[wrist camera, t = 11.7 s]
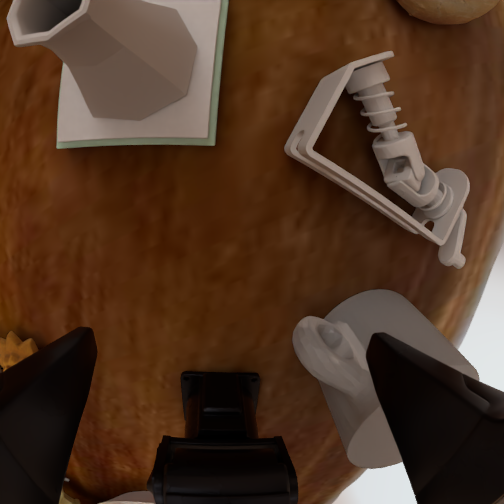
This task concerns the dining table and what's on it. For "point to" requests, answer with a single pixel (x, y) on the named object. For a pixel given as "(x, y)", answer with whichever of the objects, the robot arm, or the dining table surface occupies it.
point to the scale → (171, 116)
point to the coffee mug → (366, 366)
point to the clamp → (387, 158)
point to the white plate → (133, 498)
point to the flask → (112, 50)
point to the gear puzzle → (15, 350)
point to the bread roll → (447, 10)
